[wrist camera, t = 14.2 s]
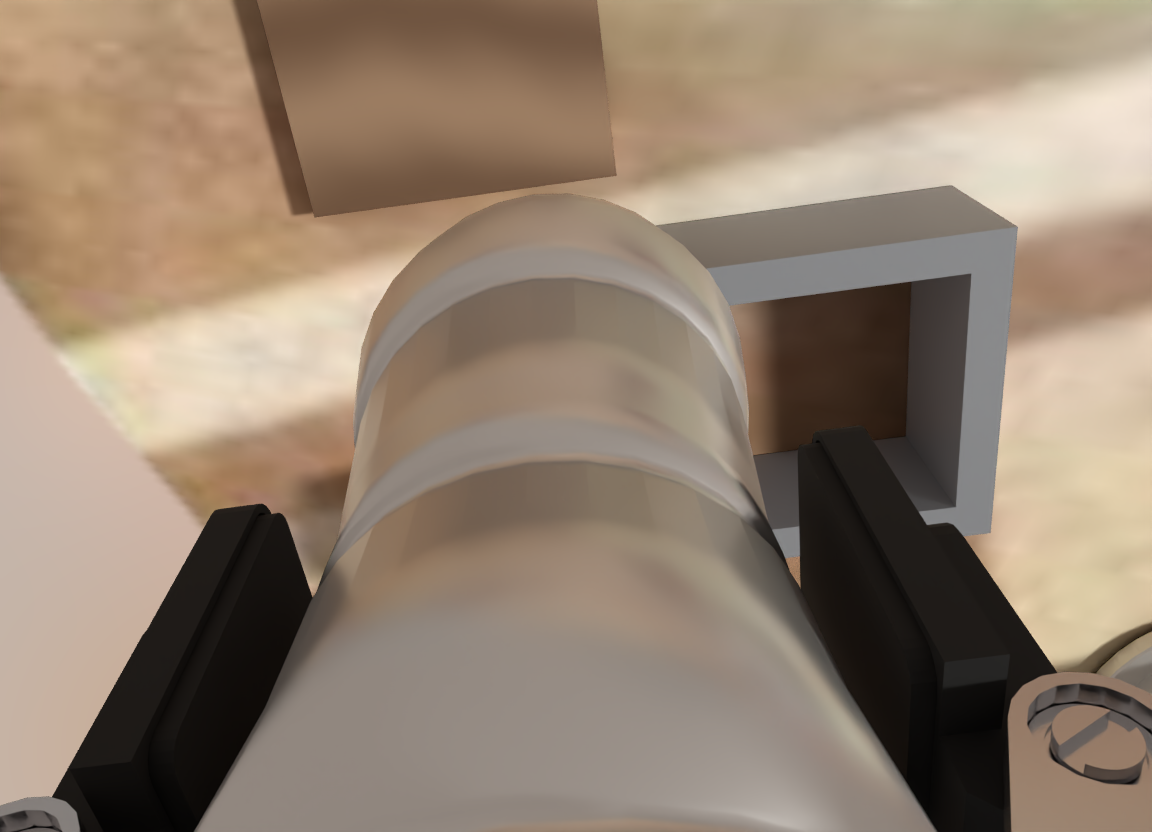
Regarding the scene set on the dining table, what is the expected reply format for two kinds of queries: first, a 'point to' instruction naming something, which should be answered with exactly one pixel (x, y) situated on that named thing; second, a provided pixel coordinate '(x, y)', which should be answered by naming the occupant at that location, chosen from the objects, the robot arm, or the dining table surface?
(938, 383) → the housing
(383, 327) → the plastic bottle
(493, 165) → the pad
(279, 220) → the dining table surface
